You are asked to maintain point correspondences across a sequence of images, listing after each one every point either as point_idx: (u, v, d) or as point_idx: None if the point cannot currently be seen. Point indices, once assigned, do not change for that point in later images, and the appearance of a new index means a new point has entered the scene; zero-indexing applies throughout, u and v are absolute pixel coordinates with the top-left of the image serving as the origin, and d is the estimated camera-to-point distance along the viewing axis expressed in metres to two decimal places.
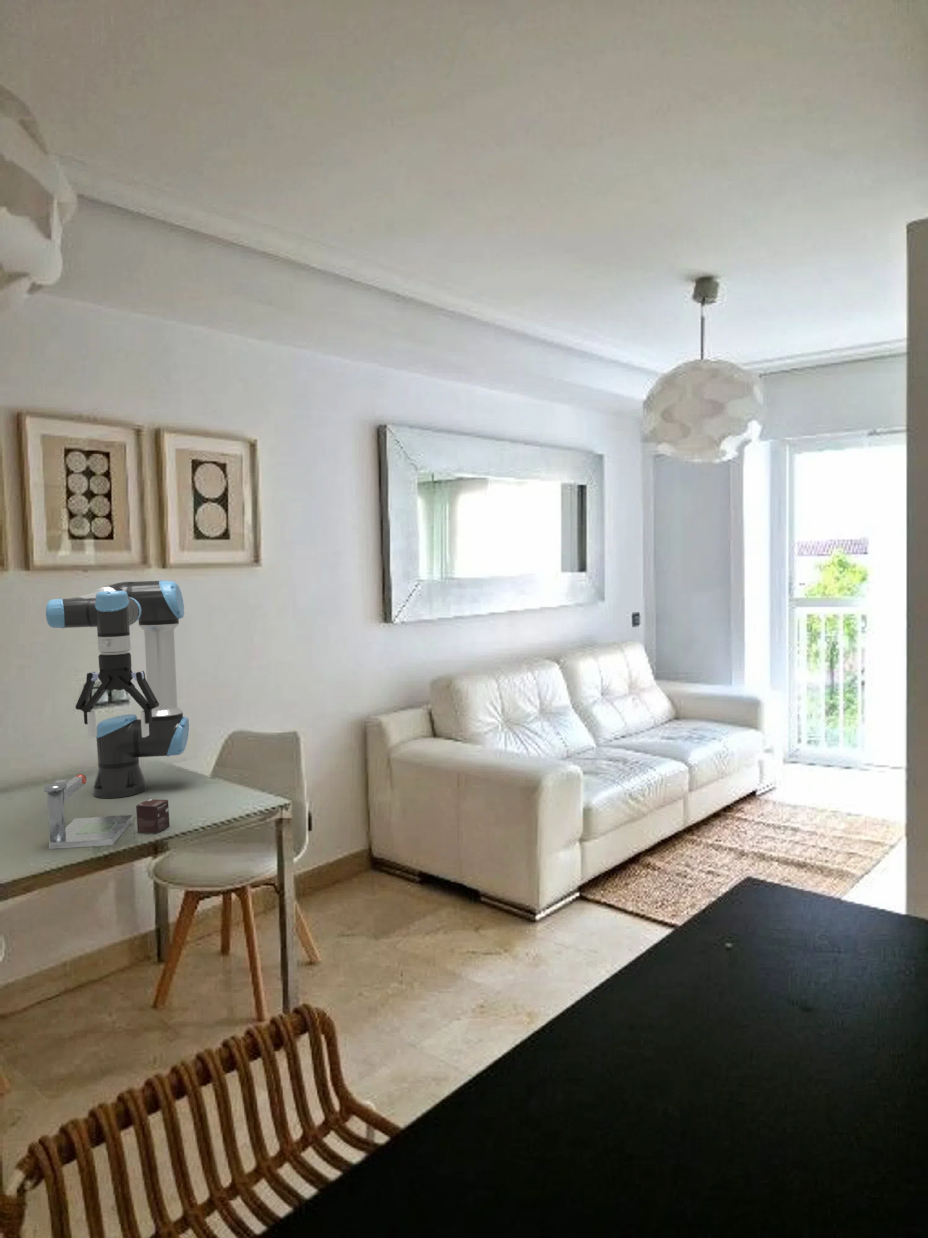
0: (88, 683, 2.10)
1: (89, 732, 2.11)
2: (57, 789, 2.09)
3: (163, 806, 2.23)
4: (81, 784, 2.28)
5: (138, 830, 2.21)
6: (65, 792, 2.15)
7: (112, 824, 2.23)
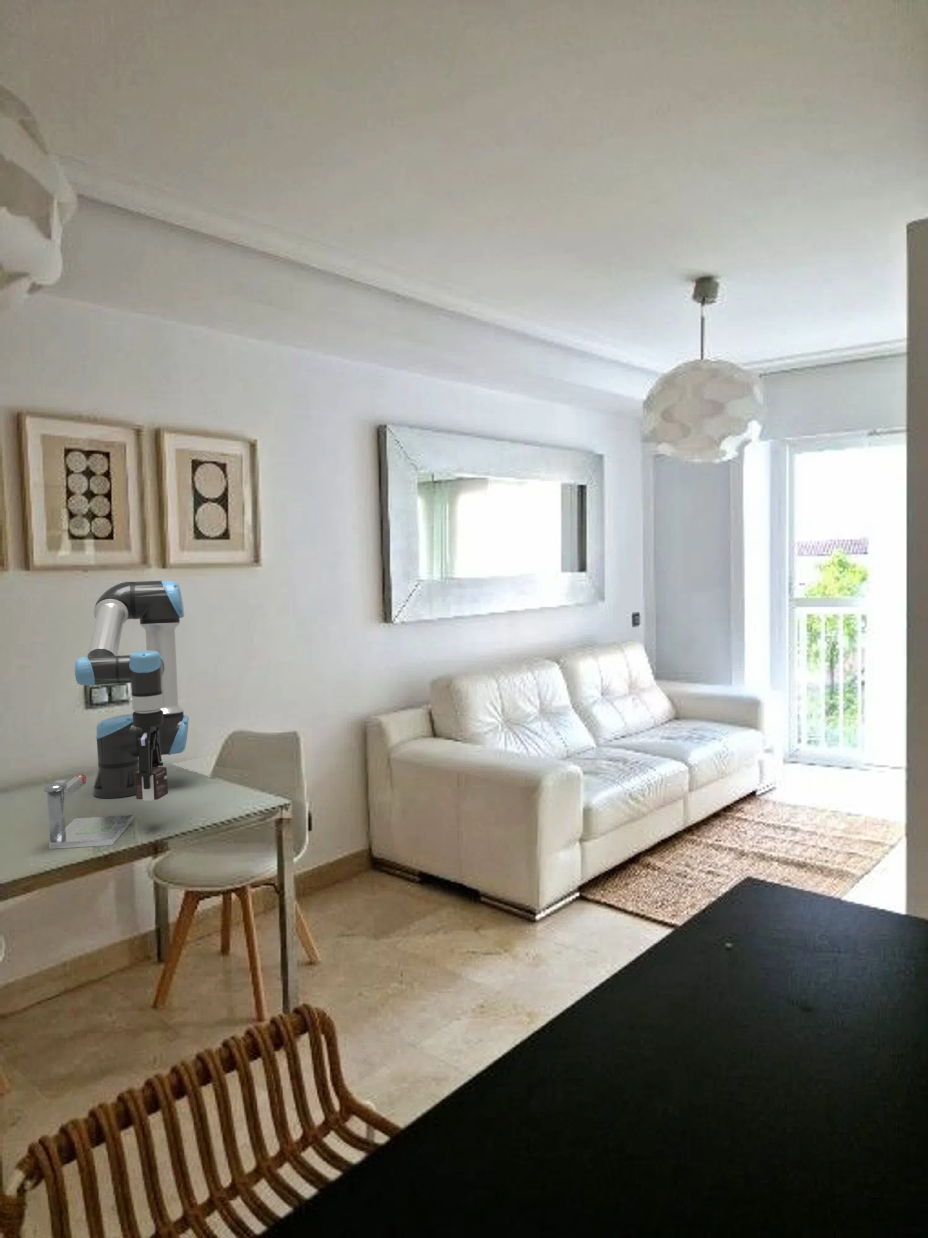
0: None
1: None
2: (57, 789, 2.09)
3: (161, 773, 2.22)
4: (81, 784, 2.28)
5: (137, 797, 2.21)
6: (65, 792, 2.15)
7: (112, 824, 2.23)
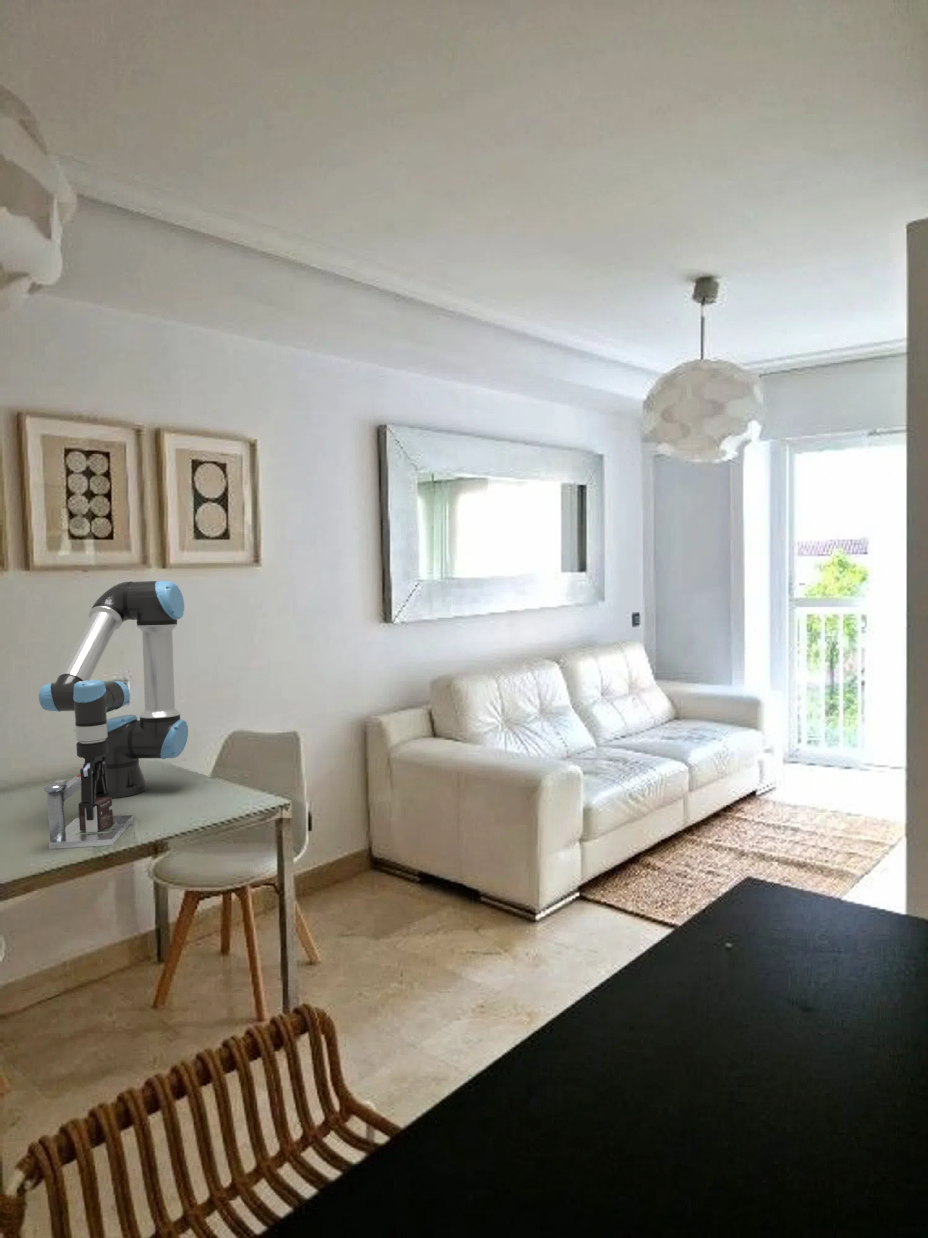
0: None
1: None
2: (57, 789, 2.09)
3: (106, 804, 2.20)
4: None
5: (80, 828, 2.18)
6: (65, 792, 2.15)
7: None
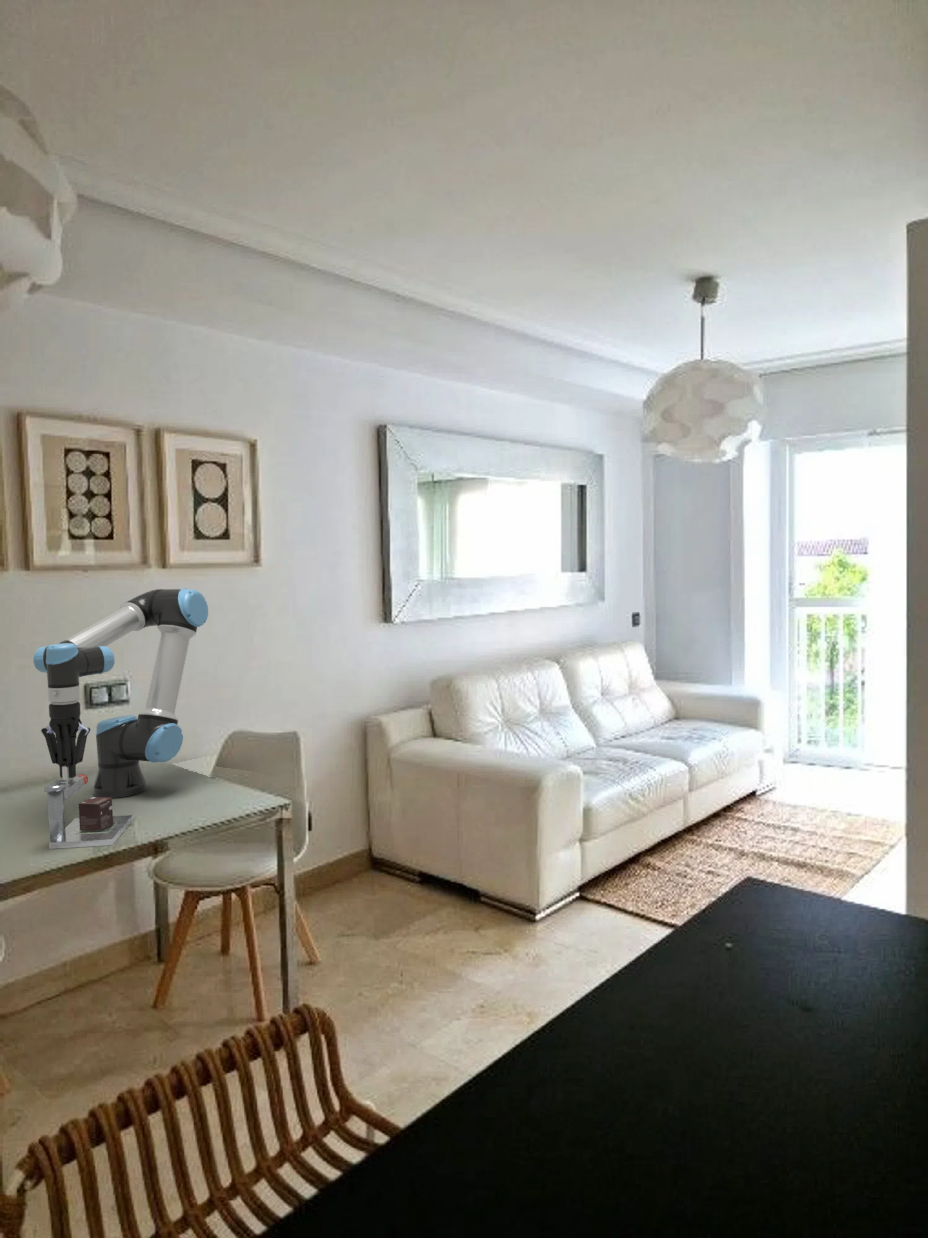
0: (47, 737, 2.24)
1: None
2: (57, 789, 2.09)
3: (106, 804, 2.20)
4: (82, 784, 2.28)
5: (80, 828, 2.18)
6: (65, 792, 2.15)
7: None
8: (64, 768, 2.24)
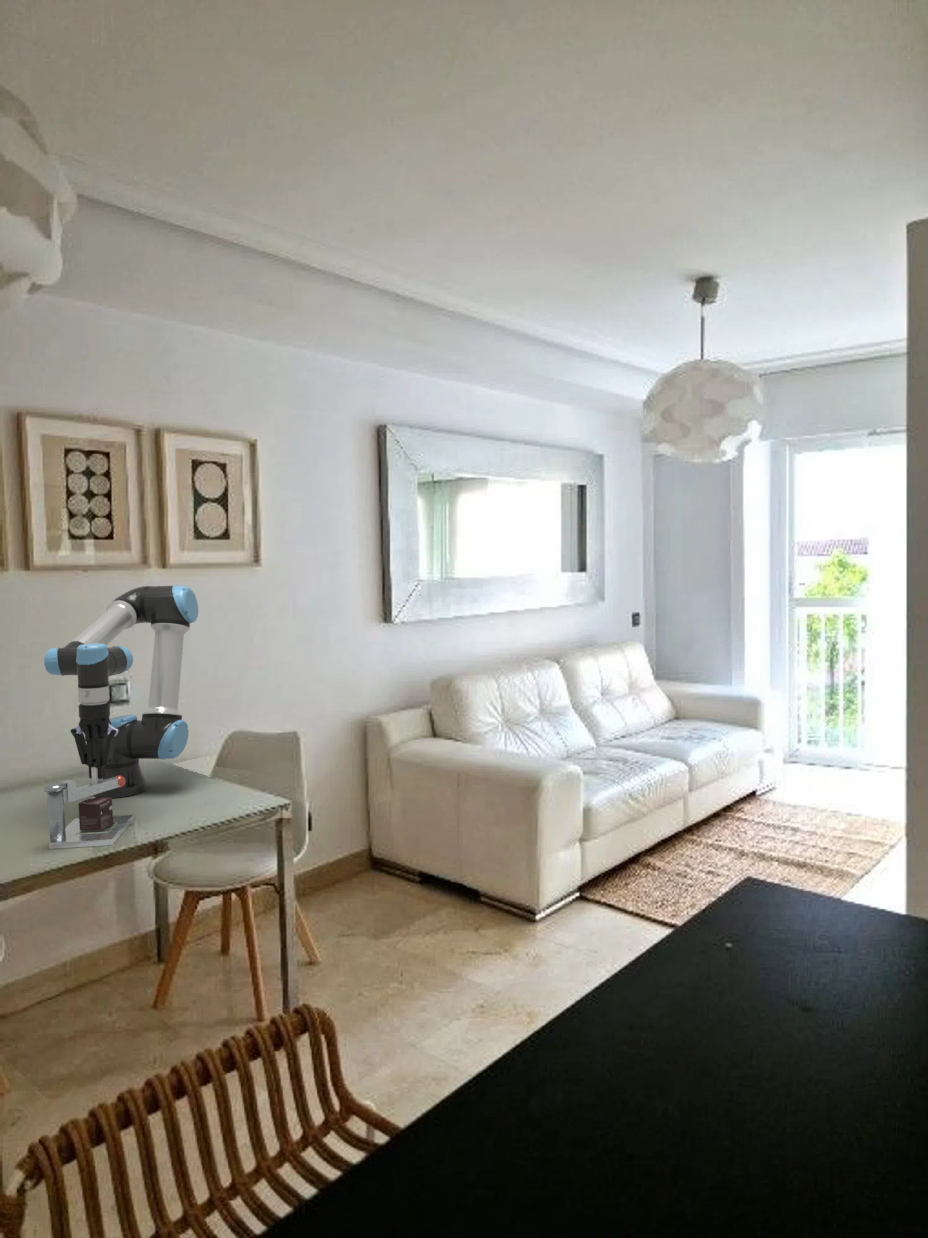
0: (76, 737, 2.23)
1: None
2: (50, 790, 2.08)
3: (106, 804, 2.20)
4: (114, 786, 2.25)
5: (80, 828, 2.18)
6: (71, 793, 2.13)
7: None
8: (93, 769, 2.22)
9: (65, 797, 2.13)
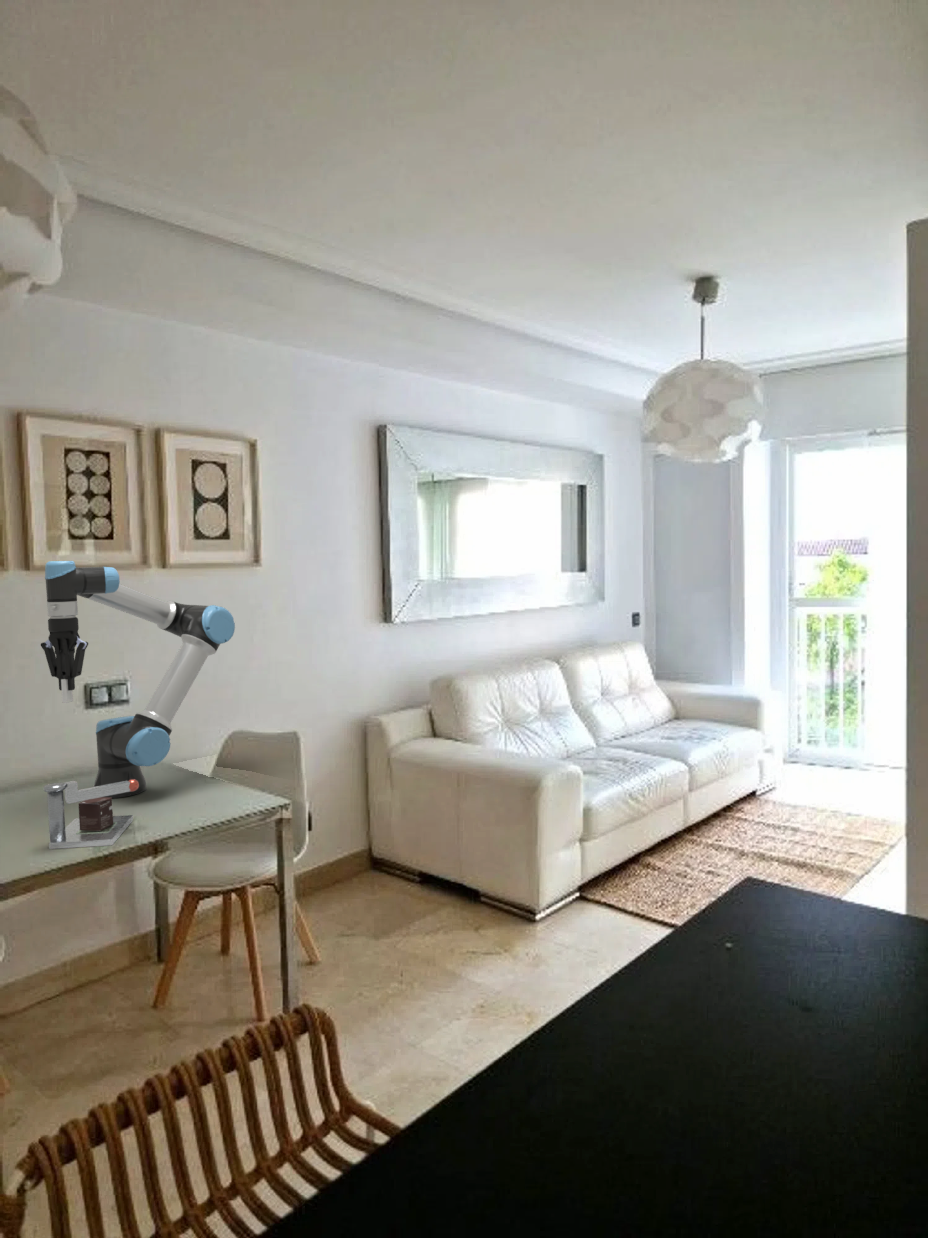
0: (46, 650, 2.32)
1: (63, 697, 2.32)
2: (47, 790, 2.08)
3: (106, 804, 2.20)
4: (125, 790, 2.21)
5: (80, 828, 2.18)
6: (72, 794, 2.12)
7: None
8: (63, 681, 2.32)
9: (67, 798, 2.12)
